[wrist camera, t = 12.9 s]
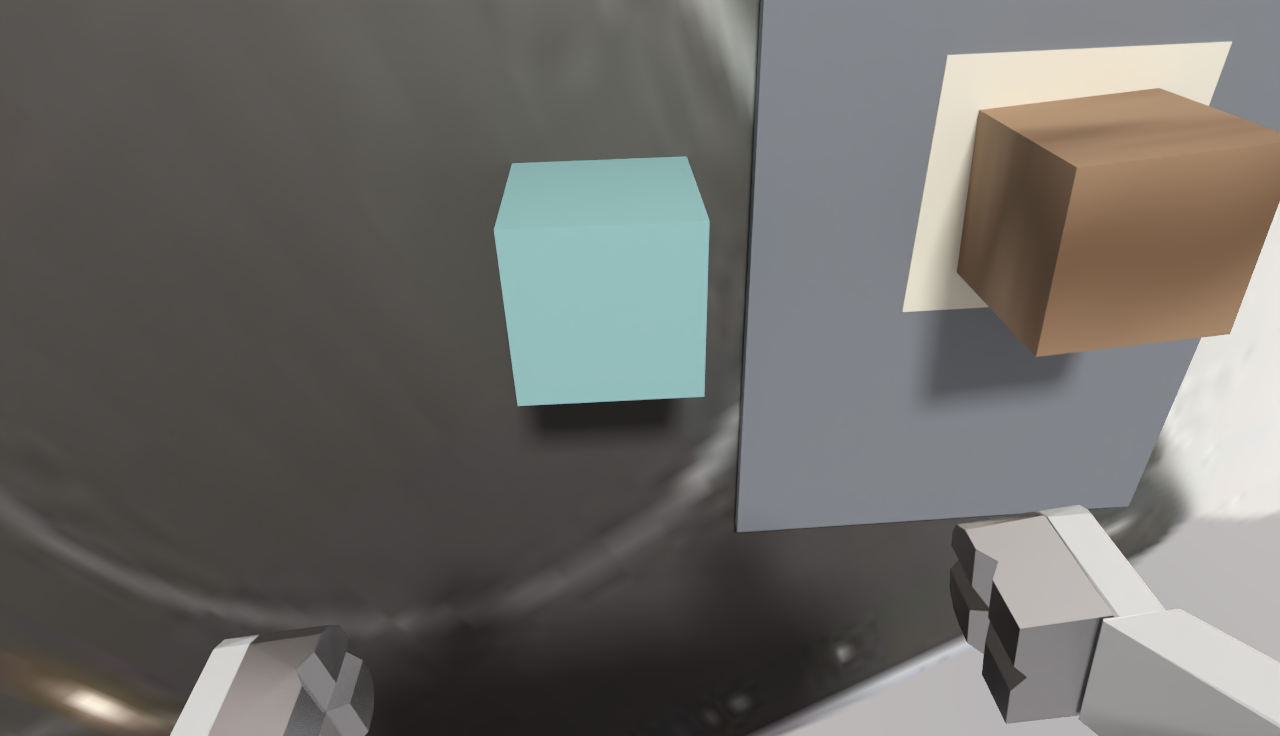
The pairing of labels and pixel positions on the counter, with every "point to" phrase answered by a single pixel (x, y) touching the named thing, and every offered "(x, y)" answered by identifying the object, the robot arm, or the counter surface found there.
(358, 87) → the counter surface
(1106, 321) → the walnut block
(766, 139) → the mat
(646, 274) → the teal block
